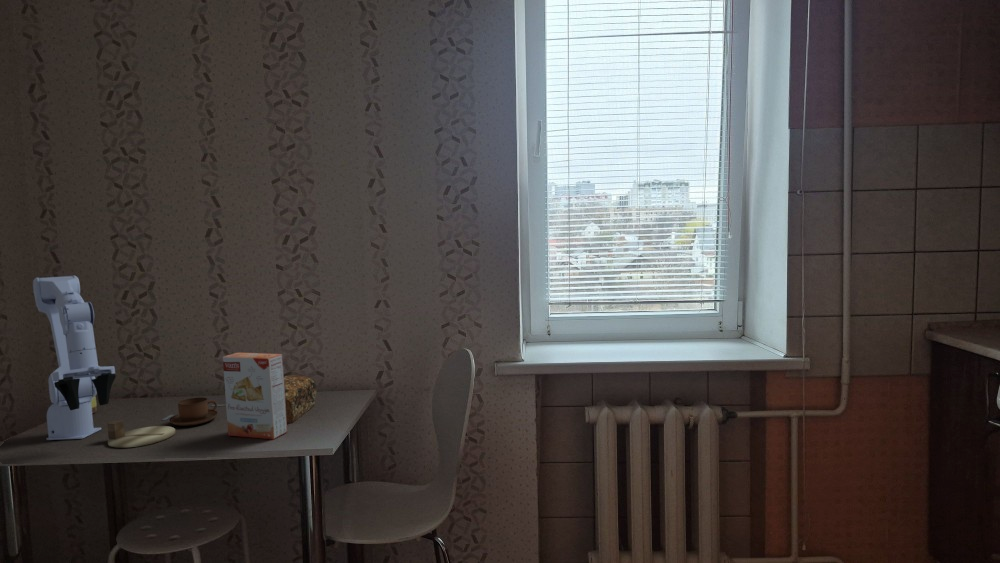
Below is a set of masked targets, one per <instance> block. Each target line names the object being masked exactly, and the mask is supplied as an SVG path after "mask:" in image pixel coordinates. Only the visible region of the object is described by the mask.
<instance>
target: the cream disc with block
mask: <svg viewBox="0 0 1000 563" xmlns="http://www.w3.org/2000/svg"><path fill="white" fill-rule="evenodd" d="M124 424H125V423H124V420H119V419H118V420H113V421H110V422H107V424H106V425H107V436H108V440H107V445H108V446H109V447H112V448H117V449H119V448H121V449H123V448H124V449H125V448H134V447H135V448H136V447H141V446H147V445H151V444H155V443H158V442H162V441H164V440H168V439H170V438H171V437H173V436H174V435H176V428H174V427H172V426H167V425H155V426H154V425H153V426H145V427H140V428H134V429H130V430H126V431H125V425H124Z"/></svg>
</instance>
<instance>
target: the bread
mask: <svg viewBox="0 0 1000 563" xmlns="http://www.w3.org/2000/svg"><path fill="white" fill-rule="evenodd" d="M284 389H285V404H286V419H287V424H293V423H295V422H296V421H297V420H299V419H300V418H301V417H302V416H304V415H306V413H307V412H308V411H309V410H311V409H312V408H313V407H314V406H315V405H316V398H317V397H316V395H317V386H316V382H315V381H314V380H313V378H310V377H308V376H305V375H302V374H290V375H285V376H284Z"/></svg>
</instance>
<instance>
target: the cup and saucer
mask: <svg viewBox="0 0 1000 563" xmlns="http://www.w3.org/2000/svg"><path fill="white" fill-rule="evenodd" d="M211 403H212V404H213V405H215V406H213V407H212V408H209V406H208V405H210V404H211ZM217 405H218V403H217V401H216V400H214V399H212V400H208V398H207V397H191V398H187V399H182V400H179V401H178V402H177V408H178V414H174V416H172V417H170V418H169V422H170V423H171V424H172V425H175V426H178V427H179V426H180V427H186V426H187V427H188V426H195V425H196V426H197V425H201V424H205V423H208V422H210V421H212V420H214V419H215V418H216V417H217V416H218V413H219V412H218V411H217V410H216V409H217V408H218V406H217Z"/></svg>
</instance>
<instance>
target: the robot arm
mask: <svg viewBox="0 0 1000 563" xmlns="http://www.w3.org/2000/svg"><path fill="white" fill-rule="evenodd" d="M80 284H81V283H80V280H79V277H78V276H76V275H65V276H50V277H48V276H47V277H35V278H34V279H33V280H32V289H33V295H34V301H35V306H36V308H37V310H38V312H40V313H43V314H45V315H46V317H47V319H48V320H49V323H50V330H51V333H52V339H53V344H54V350H55V354H56V360H57V365H58V367H57V368H56V369H55V370H53V372H51V373H50V375H49V377H48V380H47V381H48V382H47V383H48V391H49V392H48V393H49V398H50V401H51V403H52V404H50V406H49V407H48V409H47V412H46V423H47V424H46V425H47V434H48V437H46V441H56V440H58V441H60V440H61V441H62V440H78V439H79V440H80V439H84V438H86V437H89V436H91V435H93V434H95V433H97V432H99V431H101V430H102V427H94V419H93V414H92V406H91V400H93V398H92V397H95V396H97V400H98V401H97V402H98V403H99V406H105V405H108V404H109V402H110V395H111V390H112V386H113V383H114V382H115V379H116V378H117V376H116V375H117V374H116V368H115V366H114V365H112V366H110V365H109V366H100V365H99V362H98V354H97V348H96V341H95V340H96V339H95V334H94V327H93V325H95V324H94V323H95V311H94V307H93V304H92V303H91V302H92V301H86V302H85V300H84V299H83V297H82V296H81V285H80Z"/></svg>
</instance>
